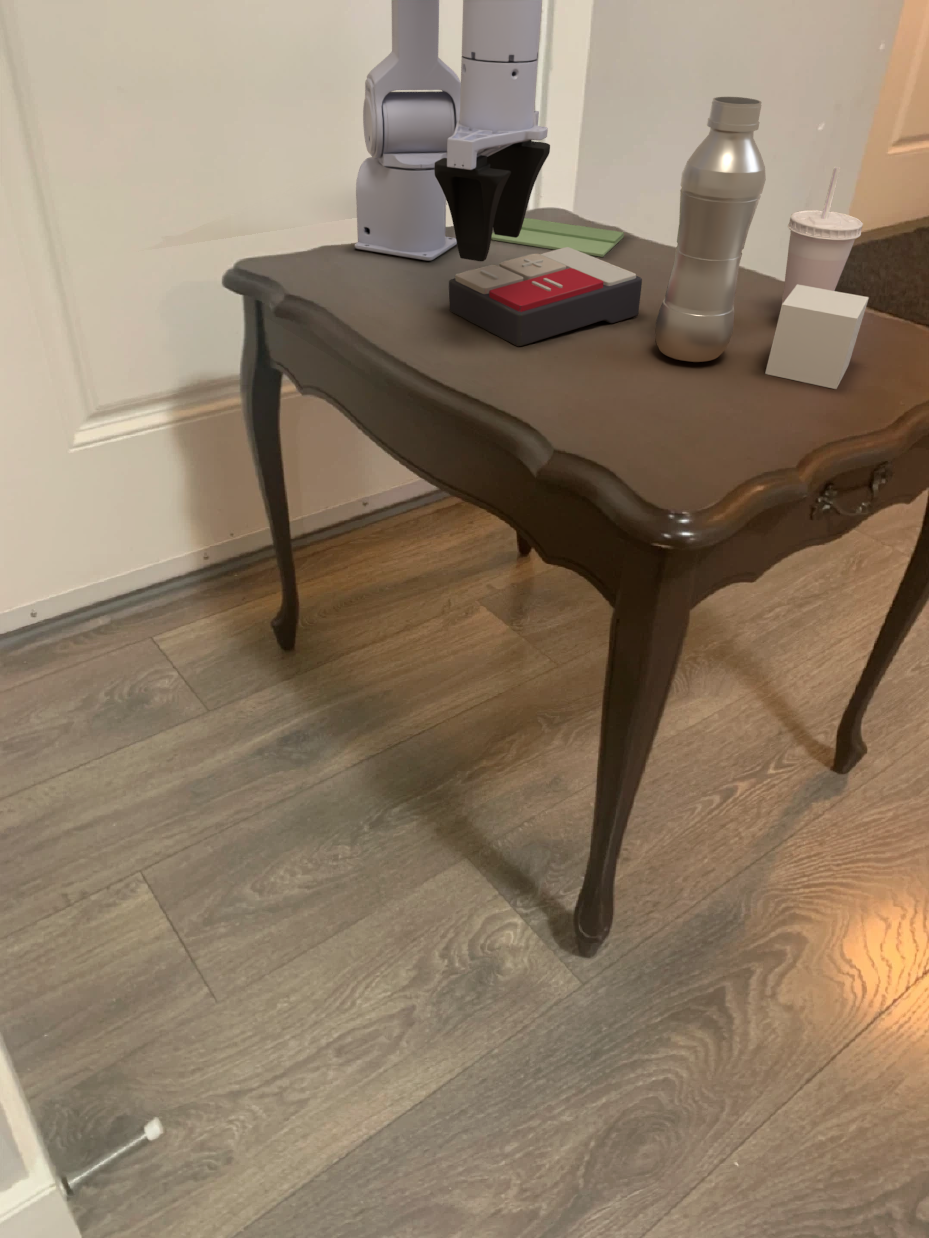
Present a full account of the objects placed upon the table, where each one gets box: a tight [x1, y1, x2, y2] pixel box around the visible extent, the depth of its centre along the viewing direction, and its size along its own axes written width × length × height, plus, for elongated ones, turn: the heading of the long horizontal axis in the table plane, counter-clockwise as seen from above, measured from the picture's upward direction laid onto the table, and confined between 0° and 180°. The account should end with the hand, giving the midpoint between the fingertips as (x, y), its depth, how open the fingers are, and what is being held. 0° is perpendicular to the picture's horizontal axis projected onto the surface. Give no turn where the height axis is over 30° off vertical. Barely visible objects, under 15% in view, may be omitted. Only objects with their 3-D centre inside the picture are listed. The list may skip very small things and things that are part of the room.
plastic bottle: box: [654, 96, 766, 363], centre depth 76 cm, size 6×7×20 cm
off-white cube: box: [764, 284, 870, 390], centre depth 79 cm, size 6×6×6 cm
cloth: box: [491, 217, 625, 258], centre depth 110 cm, size 14×9×1 cm, turn 67°
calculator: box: [448, 247, 643, 347], centre depth 88 cm, size 11×4×15 cm
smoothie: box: [781, 166, 864, 305], centre depth 85 cm, size 6×6×14 cm
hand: (490, 246), depth 78 cm, fingers open, 7 cm apart
